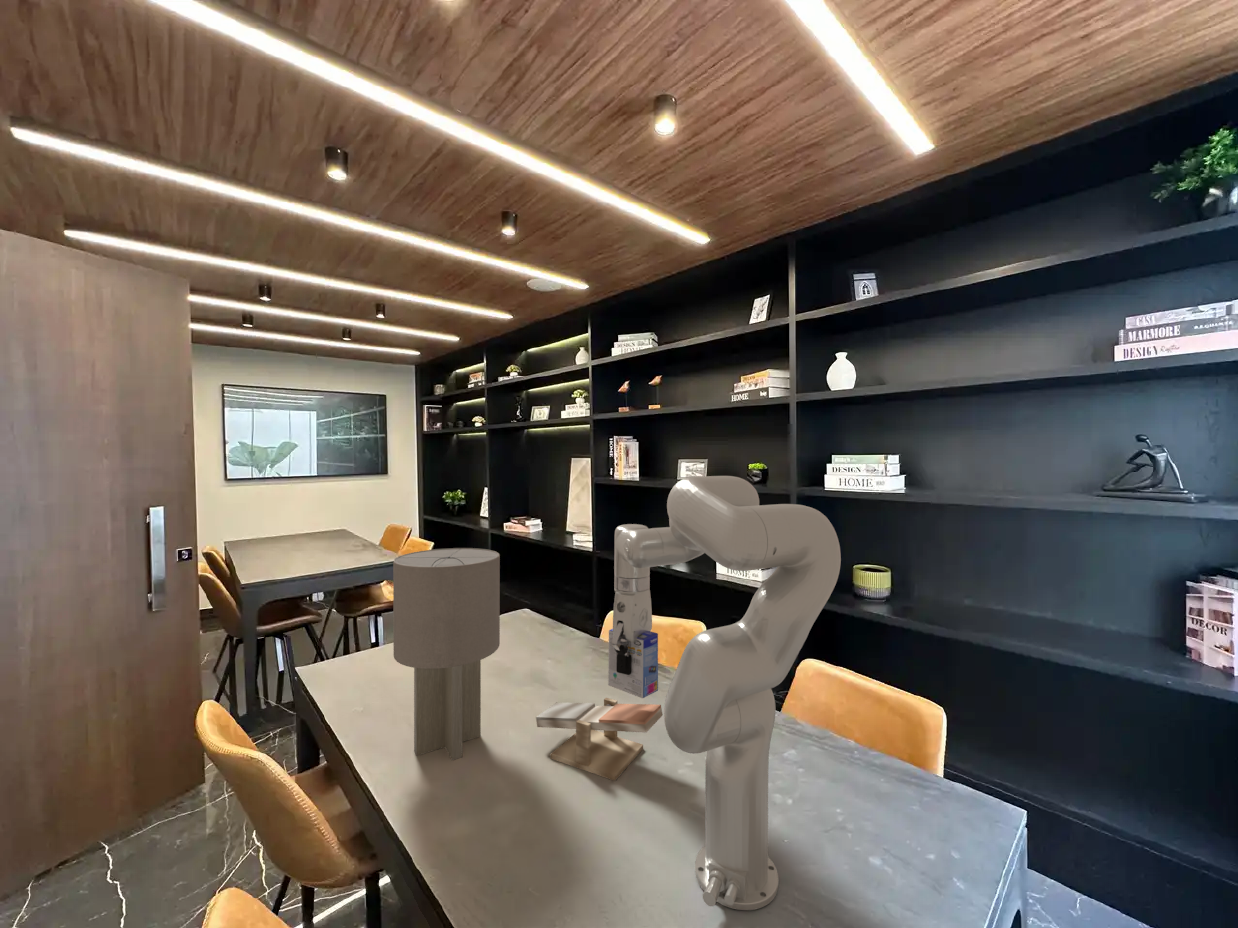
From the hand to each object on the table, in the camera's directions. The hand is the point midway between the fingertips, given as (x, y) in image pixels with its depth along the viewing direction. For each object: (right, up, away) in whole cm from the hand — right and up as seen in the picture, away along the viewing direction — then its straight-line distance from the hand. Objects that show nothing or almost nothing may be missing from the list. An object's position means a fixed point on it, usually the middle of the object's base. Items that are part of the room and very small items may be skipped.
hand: (631, 666), depth 108 cm
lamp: (-42, -21, +8) cm, 47 cm away
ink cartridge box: (0, -5, 0) cm, 5 cm away
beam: (-7, -13, +4) cm, 15 cm away
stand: (-7, -21, +4) cm, 22 cm away
